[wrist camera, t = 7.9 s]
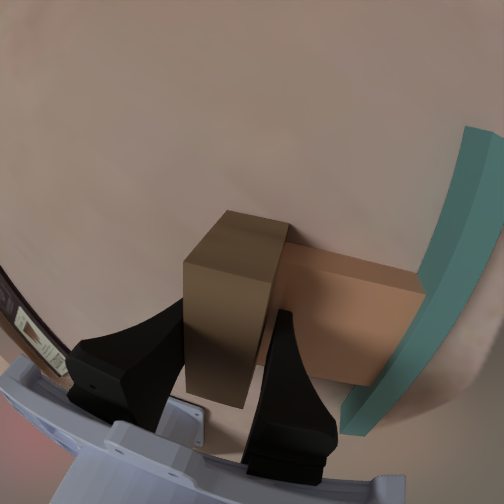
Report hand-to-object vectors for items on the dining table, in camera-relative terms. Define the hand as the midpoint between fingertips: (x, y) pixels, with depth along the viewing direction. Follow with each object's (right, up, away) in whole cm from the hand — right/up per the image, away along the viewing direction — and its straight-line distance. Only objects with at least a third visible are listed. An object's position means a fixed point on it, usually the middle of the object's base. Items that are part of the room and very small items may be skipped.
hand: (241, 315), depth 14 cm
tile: (+5, 0, +2) cm, 5 cm away
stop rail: (+10, 0, 0) cm, 10 cm away
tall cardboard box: (0, +1, +2) cm, 2 cm away
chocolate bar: (-27, -4, +12) cm, 30 cm away
